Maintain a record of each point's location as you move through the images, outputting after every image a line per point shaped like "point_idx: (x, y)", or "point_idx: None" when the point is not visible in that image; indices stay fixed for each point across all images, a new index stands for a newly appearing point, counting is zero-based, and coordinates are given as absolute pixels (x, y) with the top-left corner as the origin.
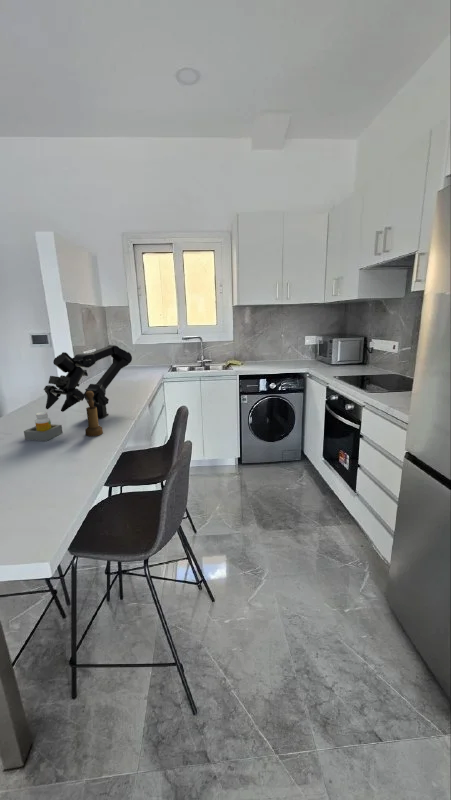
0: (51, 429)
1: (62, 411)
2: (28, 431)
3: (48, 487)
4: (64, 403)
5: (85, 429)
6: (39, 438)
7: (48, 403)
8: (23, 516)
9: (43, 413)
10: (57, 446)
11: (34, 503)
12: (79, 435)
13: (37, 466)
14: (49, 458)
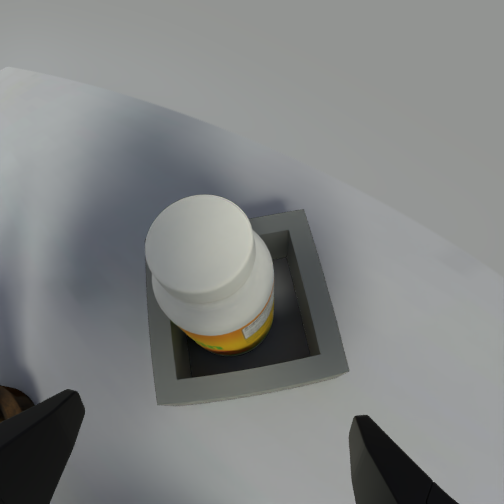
0: (148, 299)
1: (74, 403)
2: (268, 216)
3: (4, 116)
4: (7, 429)
5: (17, 406)
6: None
7: (372, 470)
8: (13, 81)
9: (180, 247)
10: (69, 242)
11: (10, 93)
12: None
13: (54, 133)
14: (46, 169)
